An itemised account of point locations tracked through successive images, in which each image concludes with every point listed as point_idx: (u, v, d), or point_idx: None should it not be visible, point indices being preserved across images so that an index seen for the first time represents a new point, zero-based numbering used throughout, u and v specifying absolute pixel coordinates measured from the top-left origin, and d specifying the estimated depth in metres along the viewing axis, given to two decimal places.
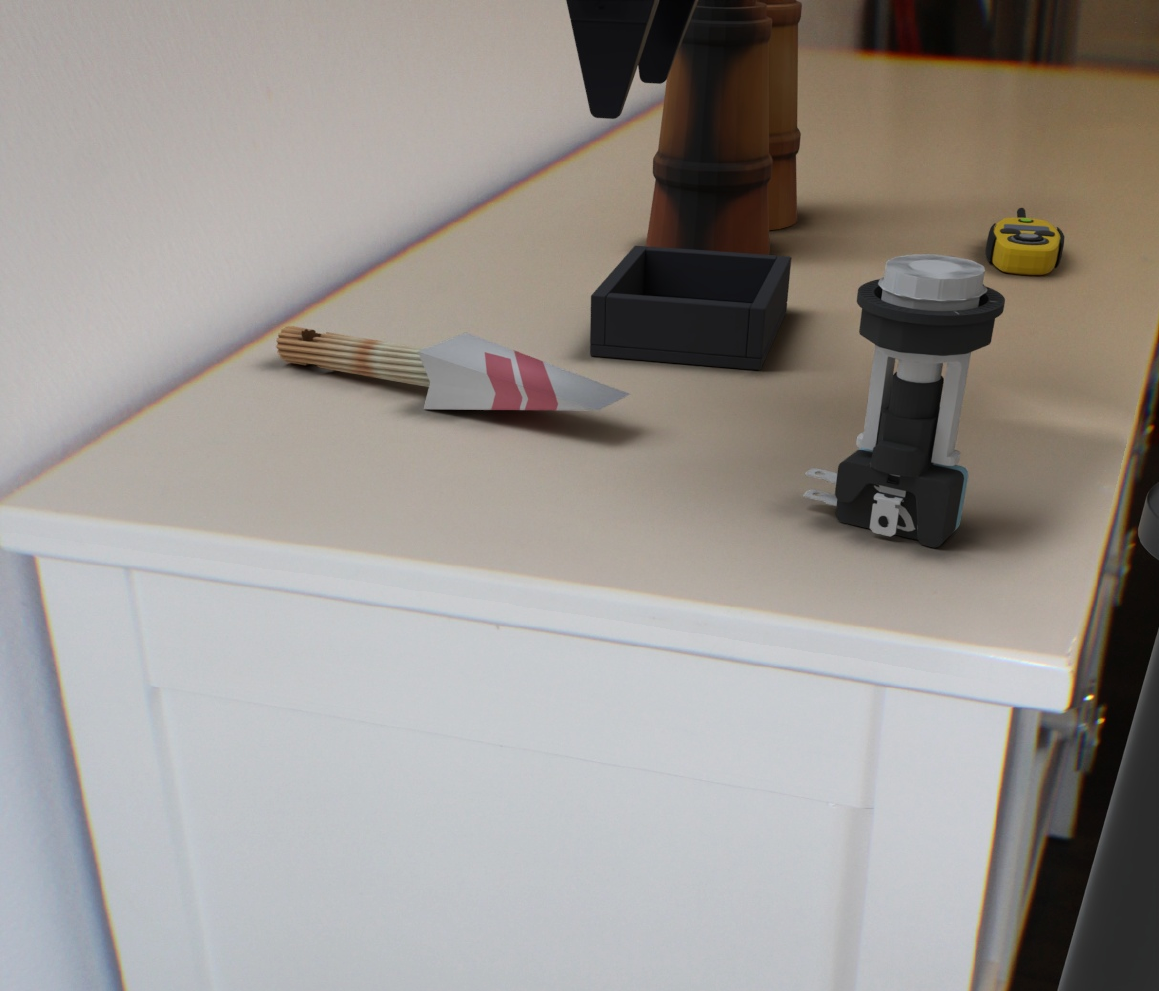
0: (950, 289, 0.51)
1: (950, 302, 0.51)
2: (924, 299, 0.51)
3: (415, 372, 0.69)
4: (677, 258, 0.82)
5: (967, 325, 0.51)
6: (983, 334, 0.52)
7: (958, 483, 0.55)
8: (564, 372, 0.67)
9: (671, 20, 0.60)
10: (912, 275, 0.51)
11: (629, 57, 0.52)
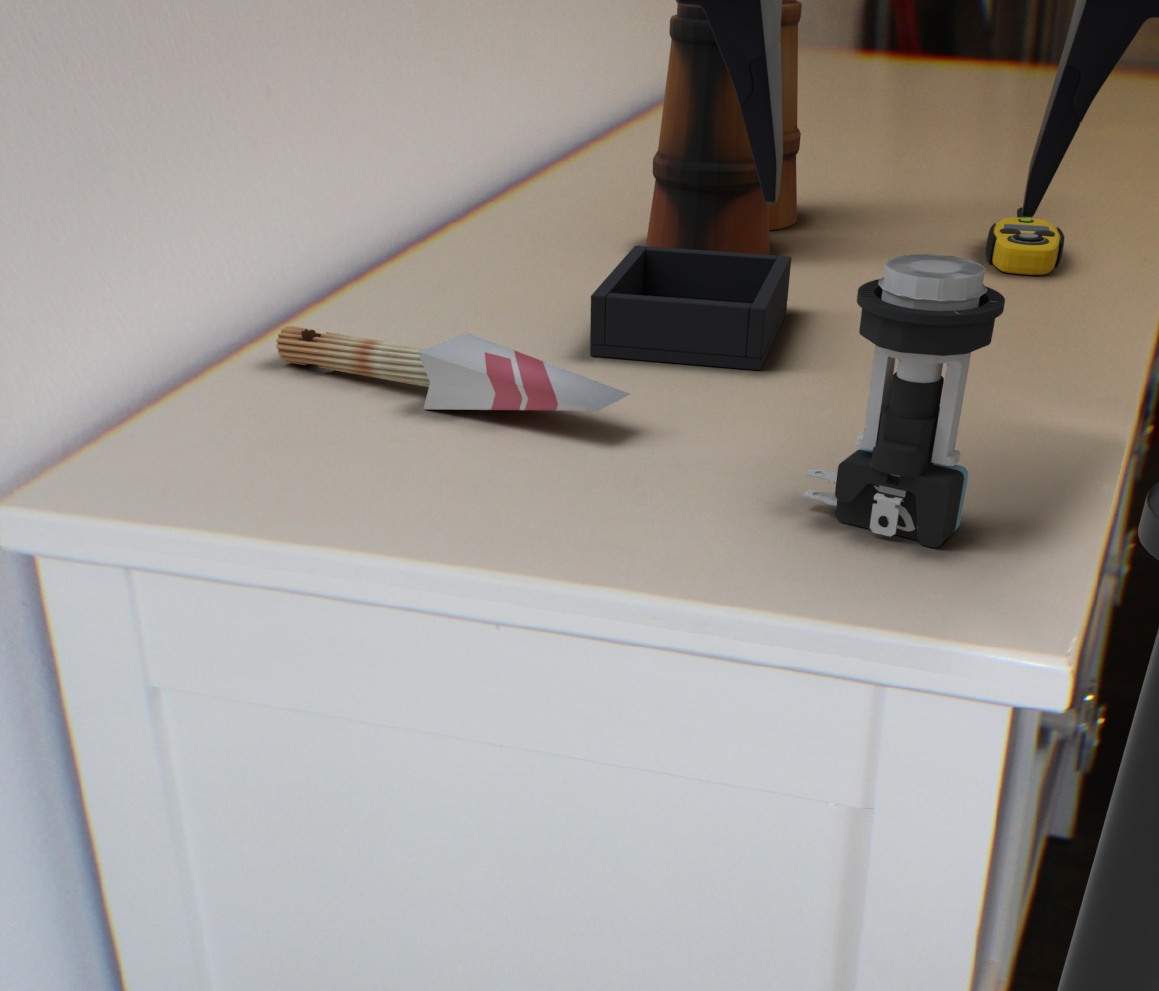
0: (950, 289, 0.51)
1: (950, 302, 0.51)
2: (924, 299, 0.51)
3: (415, 372, 0.69)
4: (677, 258, 0.82)
5: (967, 325, 0.51)
6: (983, 334, 0.52)
7: (958, 483, 0.55)
8: (564, 372, 0.67)
9: (1037, 146, 0.49)
10: (912, 275, 0.51)
11: (754, 142, 0.51)
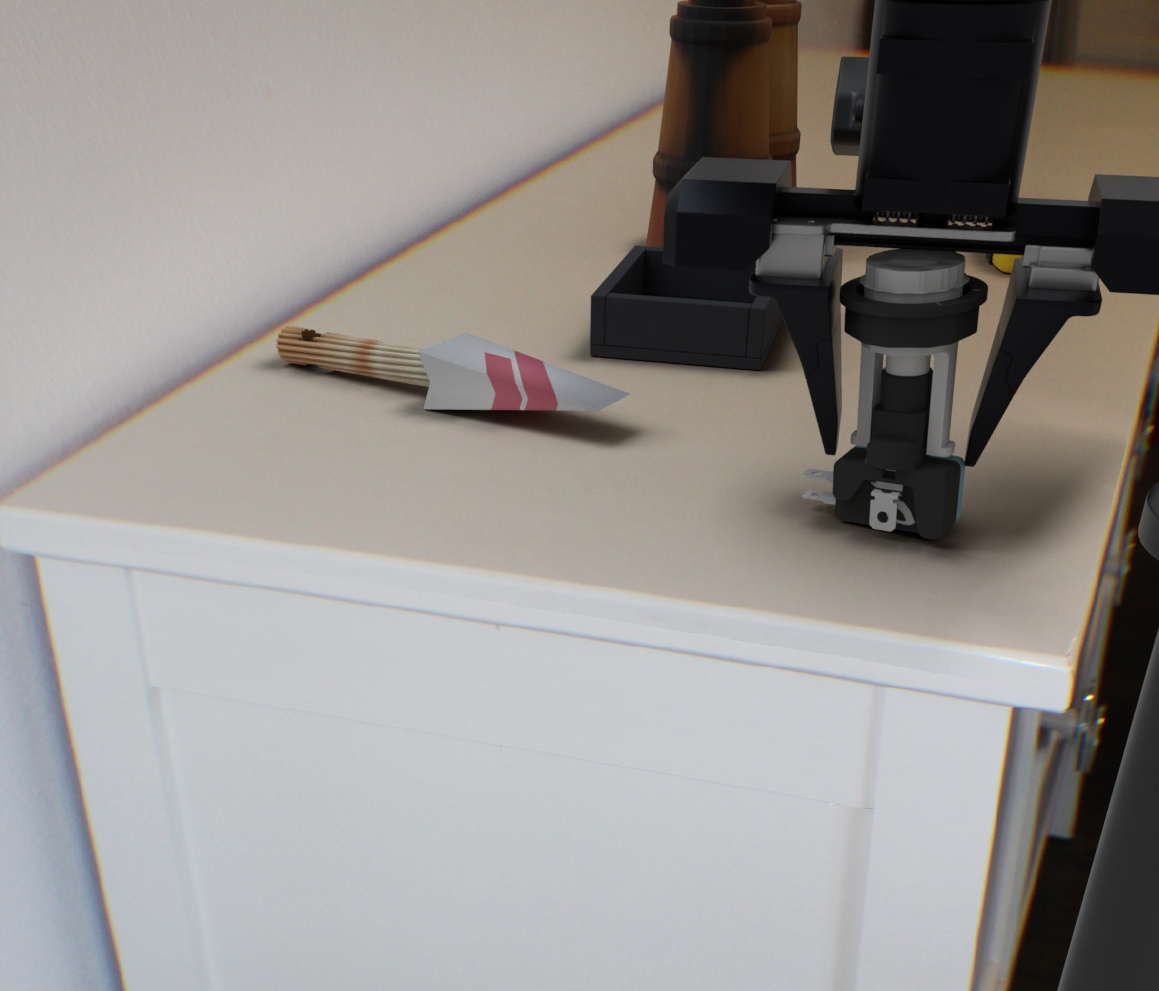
0: (931, 281, 0.51)
1: (932, 294, 0.51)
2: (905, 292, 0.51)
3: (415, 372, 0.69)
4: None
5: (950, 315, 0.51)
6: (968, 323, 0.52)
7: (955, 473, 0.55)
8: (564, 372, 0.67)
9: (976, 408, 0.54)
10: (892, 270, 0.51)
11: (817, 405, 0.55)
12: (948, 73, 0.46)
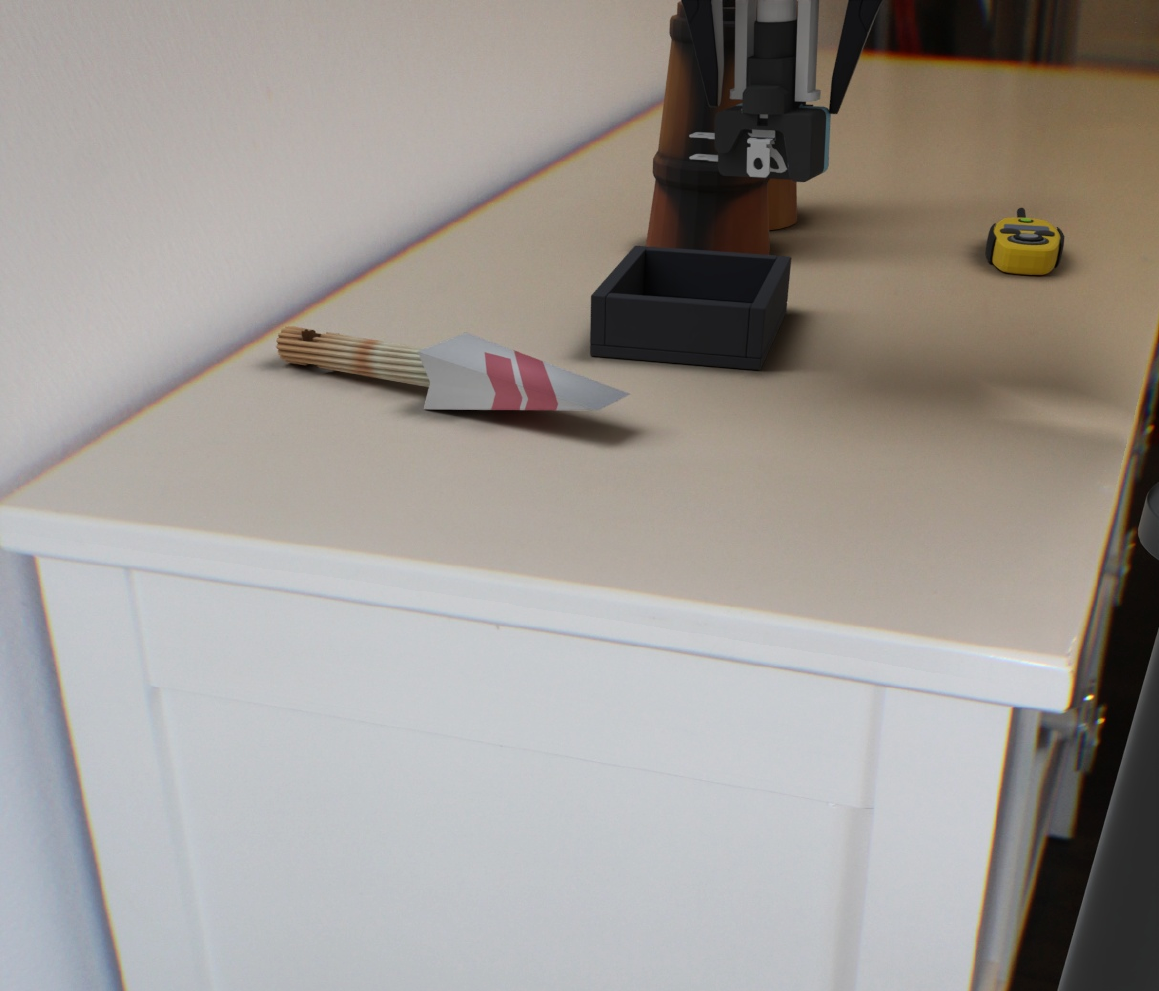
0: None
1: None
2: None
3: (415, 372, 0.69)
4: (677, 258, 0.82)
5: None
6: None
7: (820, 118, 0.62)
8: (564, 372, 0.67)
9: None
10: None
11: (700, 54, 0.62)
12: None
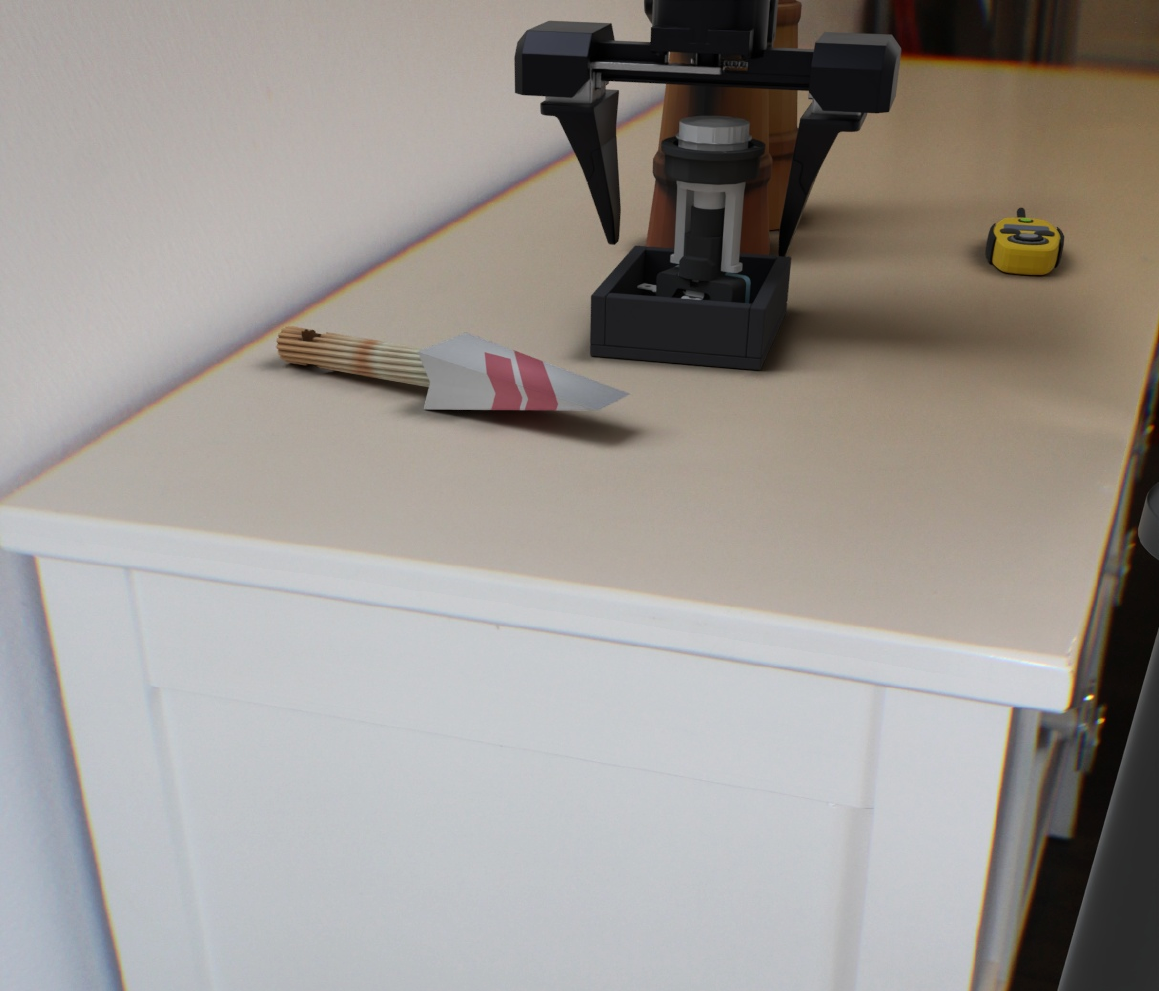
0: (721, 135, 0.71)
1: (722, 145, 0.72)
2: (703, 143, 0.72)
3: (415, 372, 0.69)
4: None
5: (733, 161, 0.71)
6: (748, 170, 0.72)
7: (740, 286, 0.76)
8: (564, 372, 0.67)
9: None
10: (694, 126, 0.72)
11: (598, 204, 0.75)
12: None
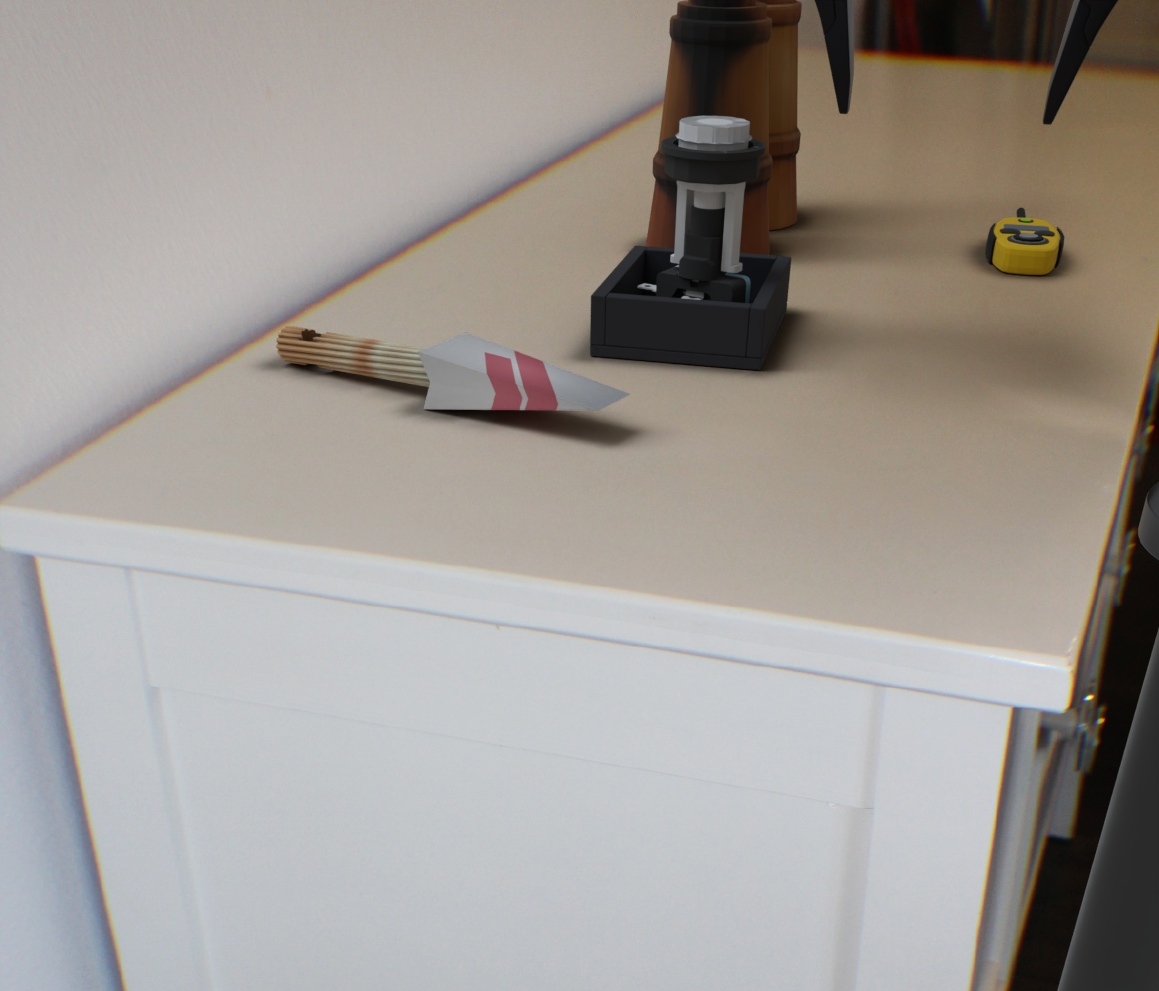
0: (721, 135, 0.71)
1: (722, 145, 0.72)
2: (703, 143, 0.72)
3: (415, 372, 0.69)
4: None
5: (733, 161, 0.72)
6: (748, 170, 0.72)
7: (740, 286, 0.76)
8: (564, 372, 0.67)
9: (1056, 66, 0.63)
10: (694, 126, 0.72)
11: (833, 64, 0.65)
12: None
